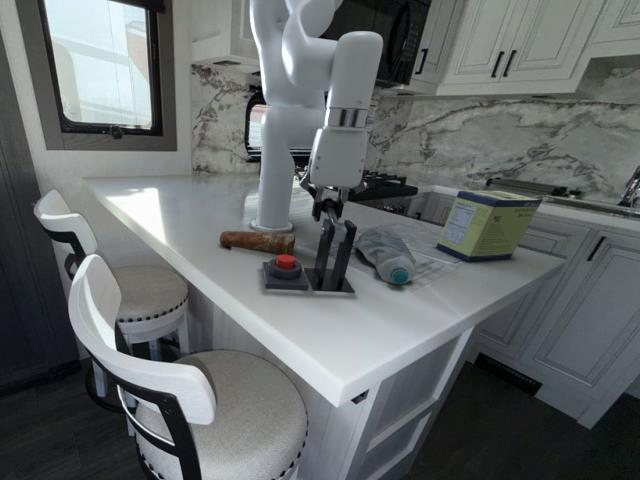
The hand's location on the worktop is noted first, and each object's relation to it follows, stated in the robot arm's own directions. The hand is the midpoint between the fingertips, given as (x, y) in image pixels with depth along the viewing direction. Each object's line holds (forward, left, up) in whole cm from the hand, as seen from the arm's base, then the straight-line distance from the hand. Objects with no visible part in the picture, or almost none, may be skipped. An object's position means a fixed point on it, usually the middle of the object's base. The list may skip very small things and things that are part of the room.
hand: (325, 219), depth 65 cm
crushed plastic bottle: (+1, +15, -11) cm, 19 cm away
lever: (+4, 0, 0) cm, 4 cm away
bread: (-7, -14, -11) cm, 19 cm away
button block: (+9, -9, -11) cm, 17 cm away
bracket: (+9, 0, -11) cm, 14 cm away
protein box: (-14, +46, -11) cm, 49 cm away
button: (+9, -9, -7) cm, 15 cm away
